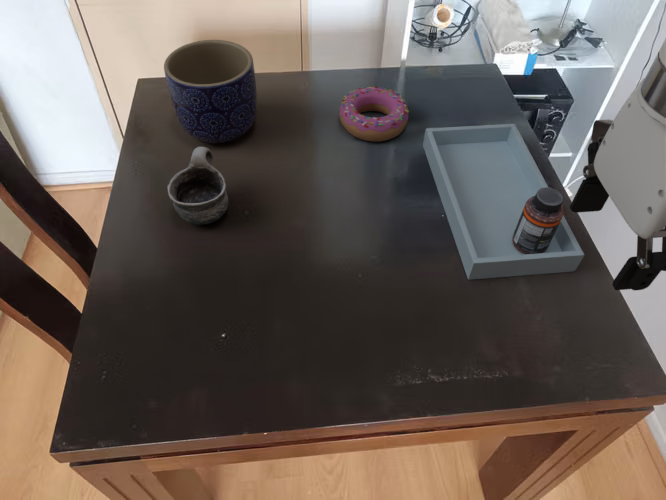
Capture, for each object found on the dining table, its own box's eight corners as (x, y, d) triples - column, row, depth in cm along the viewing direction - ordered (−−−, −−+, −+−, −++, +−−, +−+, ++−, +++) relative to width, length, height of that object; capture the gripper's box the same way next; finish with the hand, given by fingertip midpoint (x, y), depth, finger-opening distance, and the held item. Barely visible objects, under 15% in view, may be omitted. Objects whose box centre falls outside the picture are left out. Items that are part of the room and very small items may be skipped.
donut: (360, 153, 106) (361, 132, 103) (327, 114, 114) (327, 93, 111) (420, 133, 111) (424, 112, 107) (384, 97, 119) (386, 76, 115)
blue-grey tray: (574, 271, 88) (584, 254, 85) (468, 280, 86) (473, 263, 83) (508, 140, 110) (514, 123, 106) (422, 145, 108) (425, 128, 105)
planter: (240, 160, 104) (230, 94, 93) (164, 143, 107) (145, 76, 96) (272, 112, 115) (267, 47, 103) (202, 97, 118) (189, 32, 106)
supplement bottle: (525, 225, 93) (546, 176, 85) (554, 245, 90) (578, 197, 82) (503, 241, 91) (522, 193, 82) (532, 263, 88) (555, 215, 79)
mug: (173, 235, 92) (159, 193, 84) (178, 185, 100) (166, 142, 92) (230, 231, 92) (222, 189, 85) (231, 182, 100) (223, 139, 93)
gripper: (835, 166, 33) (690, 318, 46) (686, 28, 44) (603, 182, 57) (721, 173, 33) (607, 325, 46) (600, 31, 44) (536, 186, 57)
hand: (605, 245), depth 51 cm, fingers open, 9 cm apart
